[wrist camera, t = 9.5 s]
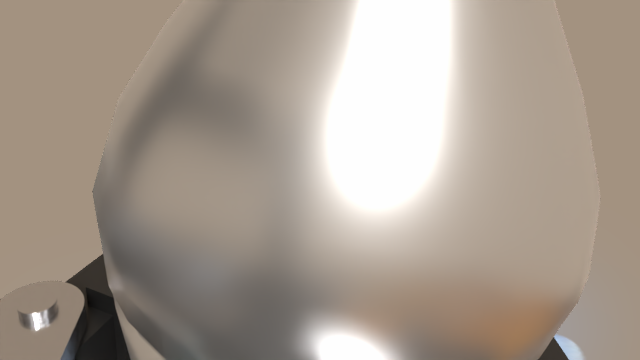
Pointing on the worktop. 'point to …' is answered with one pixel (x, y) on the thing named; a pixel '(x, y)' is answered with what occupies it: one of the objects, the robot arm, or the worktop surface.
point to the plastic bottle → (349, 182)
